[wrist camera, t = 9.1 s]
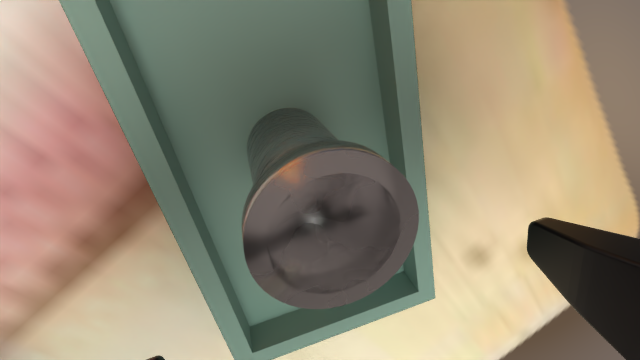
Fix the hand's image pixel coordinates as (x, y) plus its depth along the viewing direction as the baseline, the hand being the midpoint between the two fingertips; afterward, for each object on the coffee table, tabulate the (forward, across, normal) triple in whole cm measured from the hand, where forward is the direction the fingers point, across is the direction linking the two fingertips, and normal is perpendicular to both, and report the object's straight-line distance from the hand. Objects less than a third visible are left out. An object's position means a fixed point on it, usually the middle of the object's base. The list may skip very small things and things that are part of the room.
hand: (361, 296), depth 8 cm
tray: (+11, 0, 0) cm, 11 cm away
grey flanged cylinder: (+10, 0, 0) cm, 10 cm away
